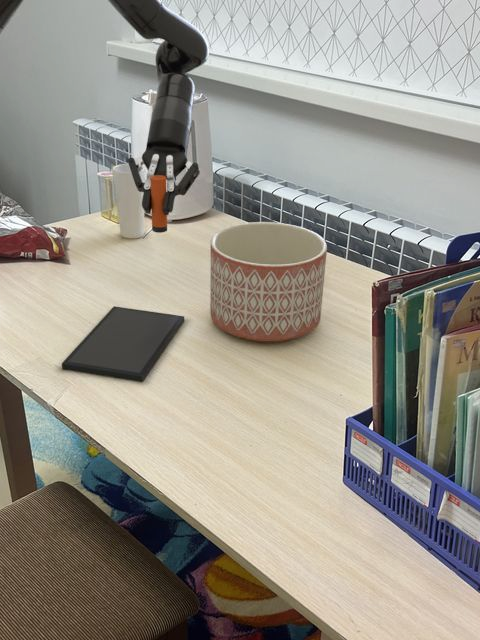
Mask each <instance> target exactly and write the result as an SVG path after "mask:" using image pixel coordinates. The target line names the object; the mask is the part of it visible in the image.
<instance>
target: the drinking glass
mask: <svg viewBox="0 0 480 640" xmlns="http://www.w3.org/2000/svg"><path fill="white" fill-rule="evenodd" d="M139 174H140V177H141V180H142V182H143V183H145V182H146V169H145V167H144V166H143V165H142V169H141V171H139ZM112 185H113V193H114V197H115V198H114V199H115V205H116V212H117V218H118V224H119V225H118V226H119V234H120V235H121V236H122V237H123V238H124V239H125V238H126V239H138V238H142V237H144V235H145V214H146V212H145V210H144V209H143V207H142V200H143V194H144V192H139V191H138V189H137V187H136V185H135V182H134V179H133V176H132V173H131V170H130V166H129V163H121V164H118V165H114V166H113V167H112Z"/></svg>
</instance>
